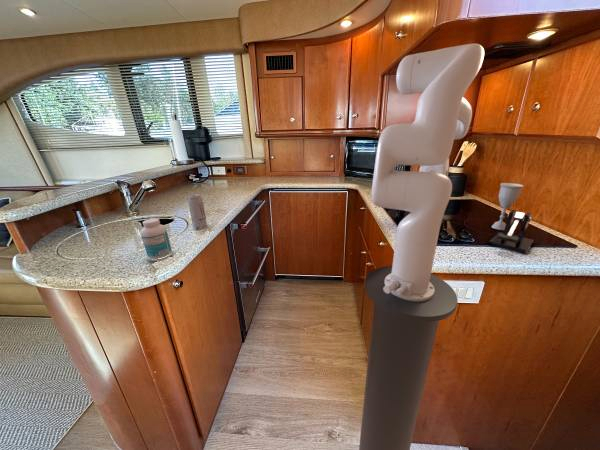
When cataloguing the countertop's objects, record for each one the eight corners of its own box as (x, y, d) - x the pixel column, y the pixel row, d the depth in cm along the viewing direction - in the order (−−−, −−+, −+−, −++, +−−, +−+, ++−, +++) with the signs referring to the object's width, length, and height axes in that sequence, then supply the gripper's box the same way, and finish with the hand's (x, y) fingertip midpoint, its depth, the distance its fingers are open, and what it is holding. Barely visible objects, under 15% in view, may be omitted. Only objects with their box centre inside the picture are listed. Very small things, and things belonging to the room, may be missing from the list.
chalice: (485, 224, 102) (496, 182, 96) (502, 224, 101) (515, 183, 95) (495, 230, 96) (507, 186, 89) (514, 231, 94) (528, 186, 88)
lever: (516, 244, 76) (517, 239, 75) (497, 239, 80) (498, 235, 78) (529, 219, 80) (530, 214, 78) (510, 215, 83) (511, 210, 82)
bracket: (525, 254, 77) (537, 220, 73) (488, 244, 84) (497, 213, 80) (533, 243, 84) (544, 212, 80) (498, 235, 91) (506, 206, 87)
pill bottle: (157, 252, 86) (148, 216, 81) (177, 252, 85) (168, 216, 81) (143, 262, 79) (131, 224, 74) (163, 262, 78) (153, 224, 74)
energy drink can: (203, 229, 106) (197, 196, 101) (190, 229, 107) (184, 196, 101) (209, 224, 112) (204, 193, 106) (197, 224, 112) (191, 193, 107)
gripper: (414, 152, 99) (408, 196, 105) (453, 153, 88) (444, 202, 94) (422, 151, 103) (416, 193, 109) (461, 152, 92) (451, 199, 98)
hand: (429, 197), depth 101 cm, fingers closed
